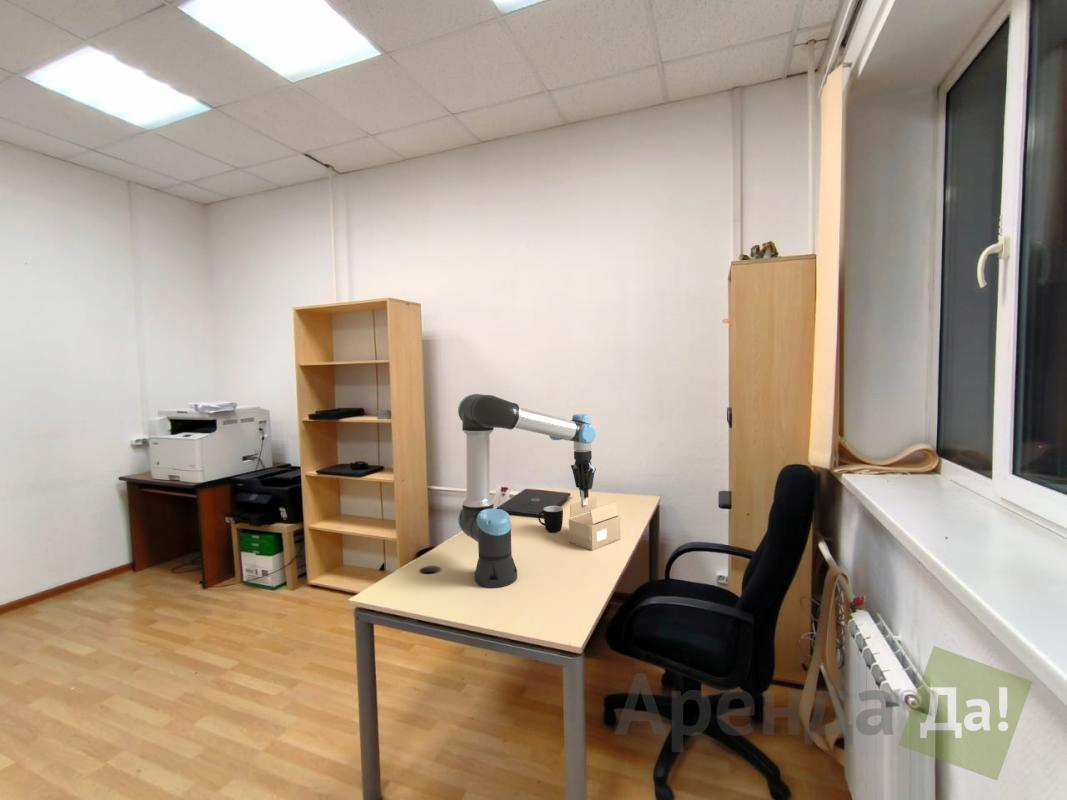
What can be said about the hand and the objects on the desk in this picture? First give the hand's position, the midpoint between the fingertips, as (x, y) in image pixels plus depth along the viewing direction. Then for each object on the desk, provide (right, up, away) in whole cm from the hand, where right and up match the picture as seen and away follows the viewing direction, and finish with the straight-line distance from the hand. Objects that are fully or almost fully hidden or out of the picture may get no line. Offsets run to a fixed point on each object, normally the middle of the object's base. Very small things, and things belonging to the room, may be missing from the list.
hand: (584, 504), depth 200 cm
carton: (+4, -15, -3) cm, 16 cm away
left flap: (0, -1, 0) cm, 1 cm away
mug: (-14, -15, +12) cm, 24 cm away
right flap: (+7, -1, -8) cm, 11 cm away
